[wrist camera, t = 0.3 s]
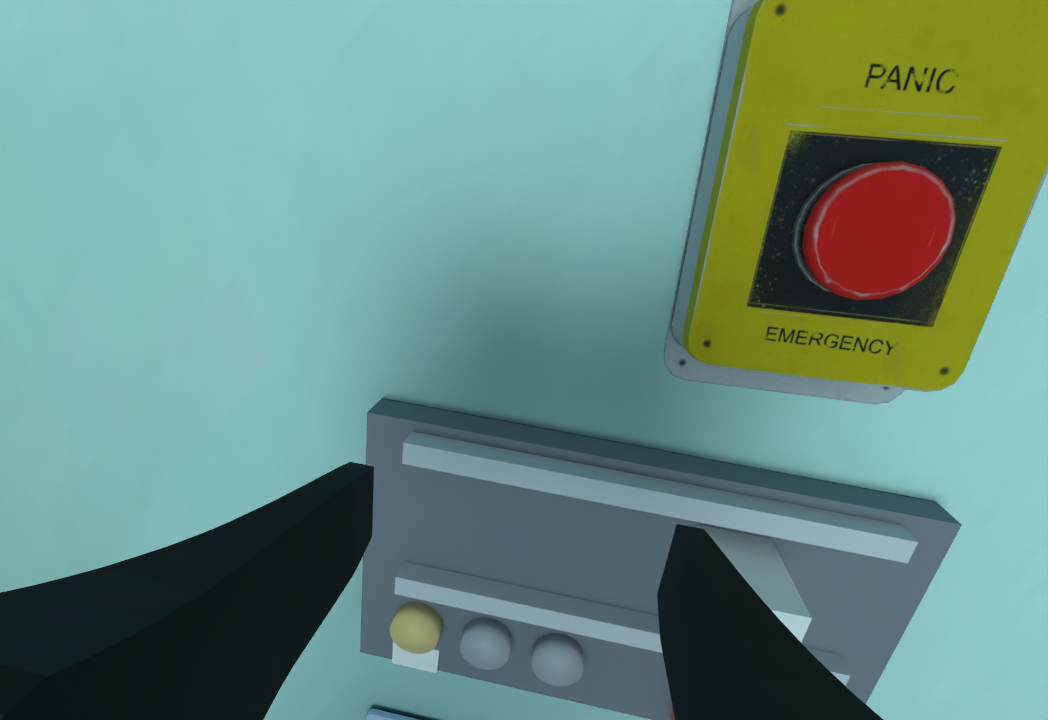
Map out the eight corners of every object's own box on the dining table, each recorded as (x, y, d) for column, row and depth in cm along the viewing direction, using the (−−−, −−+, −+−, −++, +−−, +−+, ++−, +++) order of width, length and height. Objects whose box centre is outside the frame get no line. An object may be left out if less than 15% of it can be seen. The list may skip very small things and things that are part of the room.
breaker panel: (820, 729, 25) (844, 785, 22) (372, 627, 27) (351, 669, 24) (935, 501, 20) (981, 542, 18) (381, 398, 22) (356, 422, 20)
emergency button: (673, 416, 16) (794, -158, 11) (657, 371, 21) (741, -65, 16) (968, 456, 15) (1242, -149, 10) (890, 401, 20) (1060, -52, 15)
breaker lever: (740, 619, 21) (771, 708, 18) (672, 604, 22) (688, 690, 18) (770, 539, 20) (811, 618, 16) (697, 524, 20) (721, 599, 16)
